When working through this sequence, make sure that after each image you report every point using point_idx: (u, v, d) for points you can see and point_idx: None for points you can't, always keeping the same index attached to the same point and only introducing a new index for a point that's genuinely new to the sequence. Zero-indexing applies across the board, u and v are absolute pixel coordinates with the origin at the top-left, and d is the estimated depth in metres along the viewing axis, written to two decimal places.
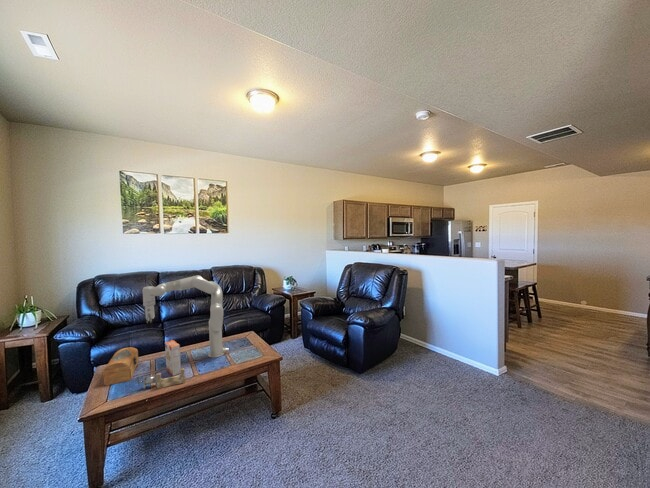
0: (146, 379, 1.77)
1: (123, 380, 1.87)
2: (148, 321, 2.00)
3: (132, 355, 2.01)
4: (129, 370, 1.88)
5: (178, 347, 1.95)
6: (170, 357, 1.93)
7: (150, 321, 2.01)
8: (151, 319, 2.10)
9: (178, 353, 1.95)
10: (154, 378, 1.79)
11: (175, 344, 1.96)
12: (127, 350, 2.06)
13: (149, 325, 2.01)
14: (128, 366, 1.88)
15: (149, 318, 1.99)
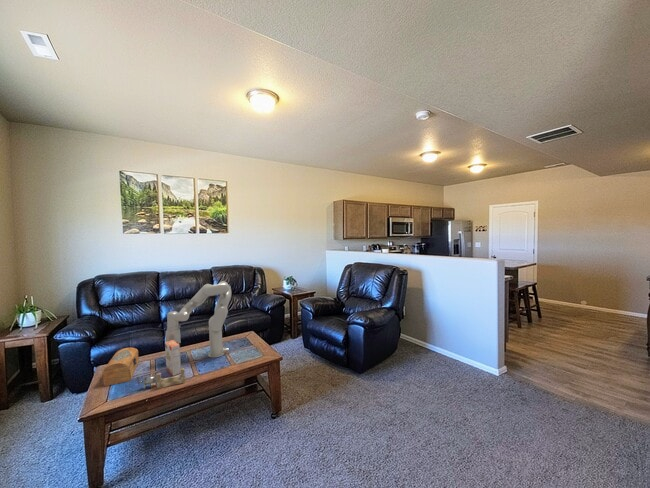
0: (146, 379, 1.77)
1: (123, 381, 1.86)
2: None
3: (132, 355, 2.01)
4: (129, 370, 1.87)
5: (178, 347, 1.95)
6: (170, 357, 1.93)
7: None
8: None
9: (178, 353, 1.95)
10: (154, 378, 1.79)
11: (175, 344, 1.96)
12: (127, 350, 2.05)
13: None
14: (128, 366, 1.87)
15: None
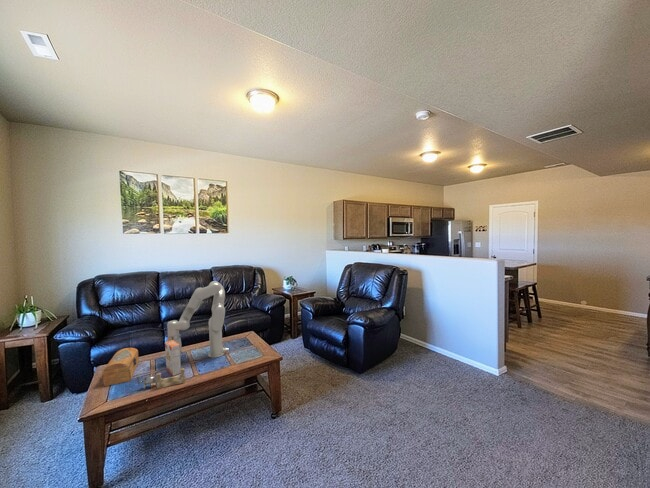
0: (146, 379, 1.77)
1: (123, 381, 1.86)
2: None
3: (132, 356, 2.00)
4: (129, 371, 1.87)
5: (178, 347, 1.95)
6: (170, 357, 1.93)
7: None
8: None
9: (178, 353, 1.95)
10: (154, 378, 1.79)
11: (175, 344, 1.96)
12: (127, 350, 2.05)
13: None
14: (128, 367, 1.87)
15: None
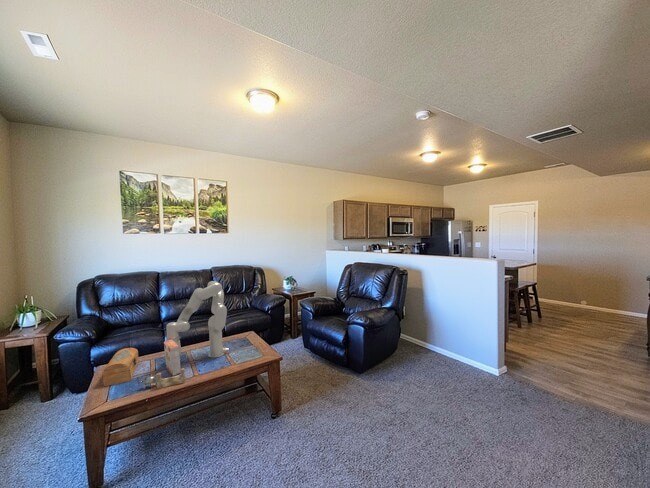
0: (146, 379, 1.77)
1: (123, 381, 1.86)
2: None
3: (132, 356, 2.00)
4: (129, 371, 1.87)
5: (177, 348, 1.93)
6: (169, 358, 1.92)
7: None
8: None
9: (177, 354, 1.93)
10: (154, 378, 1.79)
11: (174, 345, 1.93)
12: (127, 351, 2.05)
13: None
14: (128, 367, 1.87)
15: None
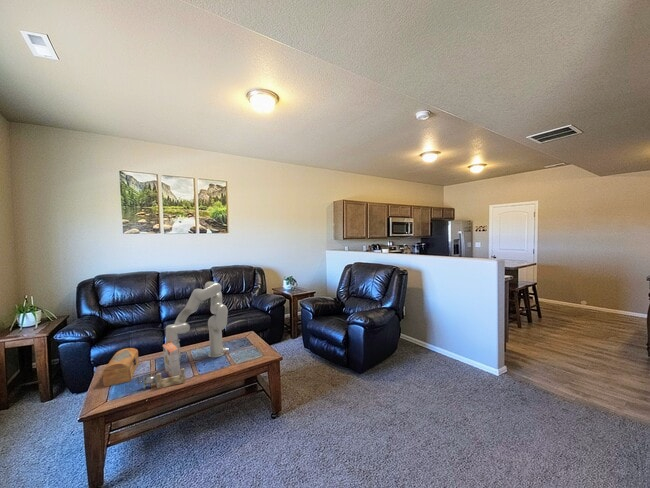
0: (146, 379, 1.77)
1: (123, 381, 1.85)
2: None
3: (132, 356, 2.00)
4: (129, 371, 1.87)
5: (177, 352, 1.87)
6: (169, 361, 1.86)
7: None
8: None
9: (177, 357, 1.88)
10: (154, 378, 1.79)
11: (173, 348, 1.88)
12: (127, 351, 2.05)
13: None
14: (128, 367, 1.86)
15: (179, 356, 2.03)
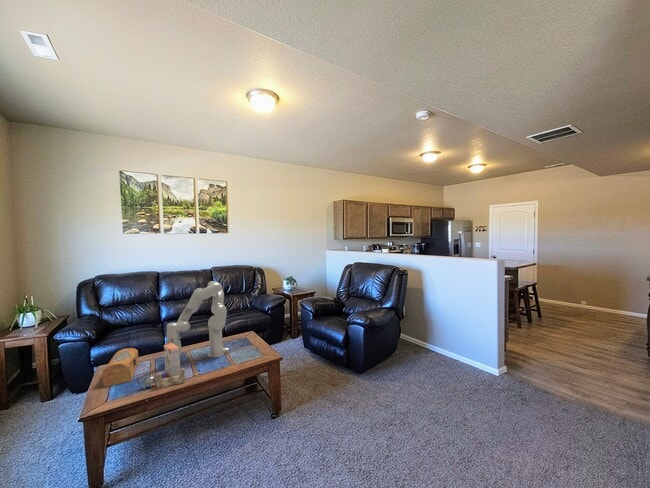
0: (146, 379, 1.77)
1: (123, 381, 1.85)
2: None
3: (132, 356, 2.00)
4: (129, 371, 1.86)
5: (178, 351, 1.89)
6: (169, 361, 1.88)
7: None
8: None
9: (178, 356, 1.89)
10: (154, 378, 1.79)
11: (174, 347, 1.90)
12: (127, 351, 2.04)
13: None
14: (128, 367, 1.86)
15: None
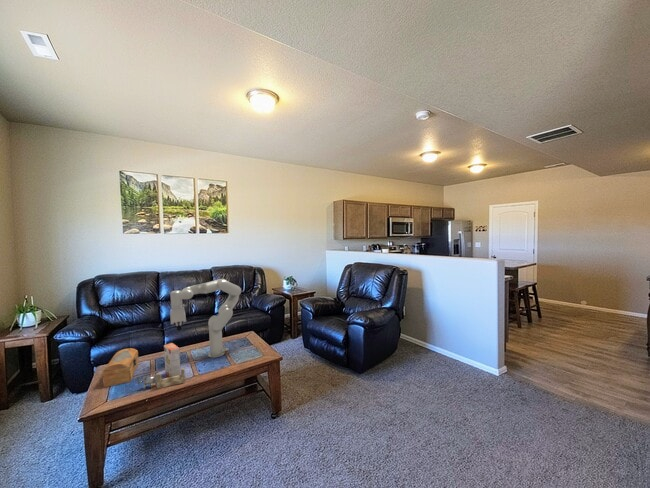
0: (146, 379, 1.77)
1: (123, 381, 1.85)
2: None
3: (132, 356, 1.99)
4: (129, 371, 1.86)
5: (178, 351, 1.89)
6: (169, 361, 1.88)
7: None
8: None
9: (178, 356, 1.89)
10: (154, 378, 1.79)
11: (174, 347, 1.90)
12: (127, 351, 2.04)
13: None
14: (128, 367, 1.86)
15: None
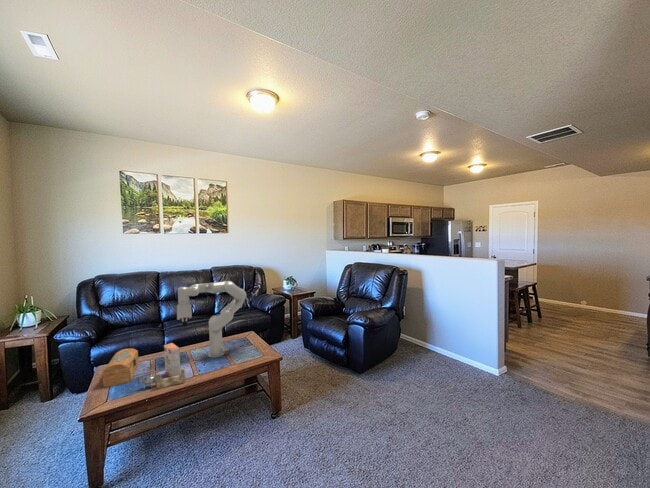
0: (146, 379, 1.77)
1: (122, 382, 1.84)
2: None
3: (132, 356, 1.99)
4: (129, 372, 1.86)
5: (178, 351, 1.89)
6: (169, 361, 1.88)
7: (187, 319, 2.17)
8: (184, 321, 2.16)
9: (178, 356, 1.89)
10: (154, 378, 1.79)
11: (174, 347, 1.90)
12: (127, 351, 2.04)
13: (186, 323, 2.17)
14: (128, 368, 1.85)
15: None
